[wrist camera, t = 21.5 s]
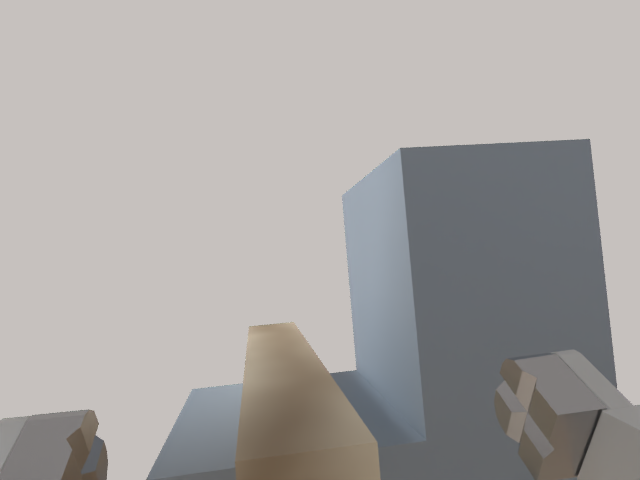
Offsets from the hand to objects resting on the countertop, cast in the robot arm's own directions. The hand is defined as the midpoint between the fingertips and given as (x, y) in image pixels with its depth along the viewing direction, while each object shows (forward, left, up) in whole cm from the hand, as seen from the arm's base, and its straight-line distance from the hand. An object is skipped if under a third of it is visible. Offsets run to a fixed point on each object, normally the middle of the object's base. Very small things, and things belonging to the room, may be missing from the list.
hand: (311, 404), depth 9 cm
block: (0, +11, -4) cm, 12 cm away
